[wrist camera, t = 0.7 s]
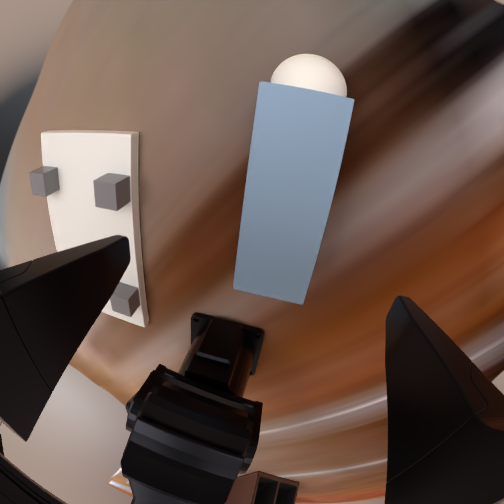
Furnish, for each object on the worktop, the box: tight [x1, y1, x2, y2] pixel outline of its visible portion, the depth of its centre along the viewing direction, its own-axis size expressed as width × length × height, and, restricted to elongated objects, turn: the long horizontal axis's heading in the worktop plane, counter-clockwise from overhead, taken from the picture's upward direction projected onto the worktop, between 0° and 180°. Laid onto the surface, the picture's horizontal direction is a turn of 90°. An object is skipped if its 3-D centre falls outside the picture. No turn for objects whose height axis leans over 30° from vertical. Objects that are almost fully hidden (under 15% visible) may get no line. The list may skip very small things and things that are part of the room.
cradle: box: [30, 130, 149, 327], centre depth 23 cm, size 18×10×3 cm, turn 172°
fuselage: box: [233, 54, 354, 305], centre depth 16 cm, size 14×4×4 cm, turn 172°
